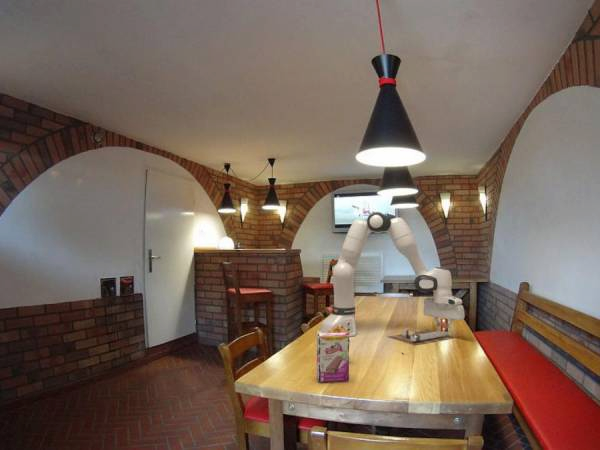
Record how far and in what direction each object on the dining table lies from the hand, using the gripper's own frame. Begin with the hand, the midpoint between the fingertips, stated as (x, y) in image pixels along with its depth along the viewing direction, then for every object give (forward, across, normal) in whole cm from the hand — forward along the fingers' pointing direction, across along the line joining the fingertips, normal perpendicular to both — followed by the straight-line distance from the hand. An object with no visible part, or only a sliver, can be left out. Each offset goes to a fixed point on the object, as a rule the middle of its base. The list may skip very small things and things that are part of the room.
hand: (443, 326), depth 189 cm
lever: (+4, -2, -10) cm, 11 cm away
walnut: (+5, -9, -15) cm, 18 cm away
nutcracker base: (+6, -8, -9) cm, 13 cm away
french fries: (+7, -15, -65) cm, 67 cm away
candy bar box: (+7, -3, -82) cm, 82 cm away
